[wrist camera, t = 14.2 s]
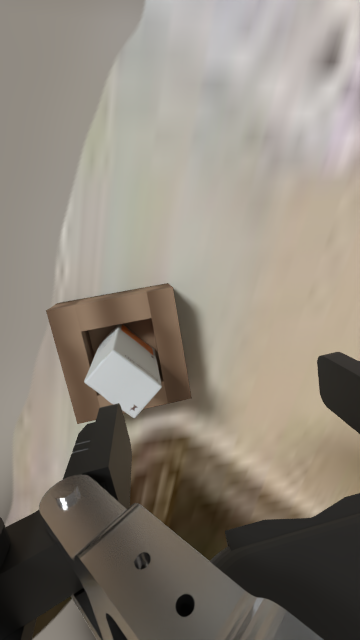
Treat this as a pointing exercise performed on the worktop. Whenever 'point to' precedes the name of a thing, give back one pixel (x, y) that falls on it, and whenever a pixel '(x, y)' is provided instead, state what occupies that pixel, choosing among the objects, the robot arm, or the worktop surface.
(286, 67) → the worktop surface
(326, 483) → the worktop surface
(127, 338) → the skincare box
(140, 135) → the worktop surface
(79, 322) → the holder
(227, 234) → the worktop surface
